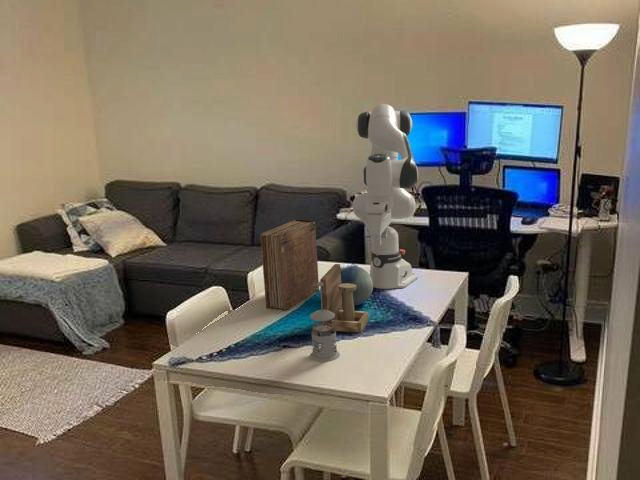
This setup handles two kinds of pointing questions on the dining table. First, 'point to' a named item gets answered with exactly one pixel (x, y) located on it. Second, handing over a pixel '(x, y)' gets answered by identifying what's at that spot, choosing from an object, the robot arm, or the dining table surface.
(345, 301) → the handle
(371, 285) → the decorative ball
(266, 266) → the book
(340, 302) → the cleat board
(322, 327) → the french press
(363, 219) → the robot arm
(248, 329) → the dining table surface
